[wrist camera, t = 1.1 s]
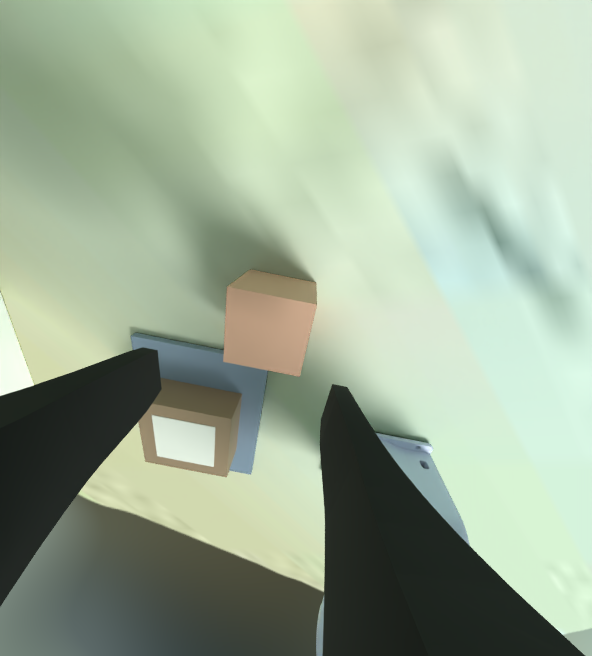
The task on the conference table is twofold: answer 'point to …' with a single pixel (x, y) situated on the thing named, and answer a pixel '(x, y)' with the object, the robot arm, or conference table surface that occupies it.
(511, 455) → the conference table surface
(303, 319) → the terracotta cube
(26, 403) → the robot arm
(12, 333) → the gable box
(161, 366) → the plate
